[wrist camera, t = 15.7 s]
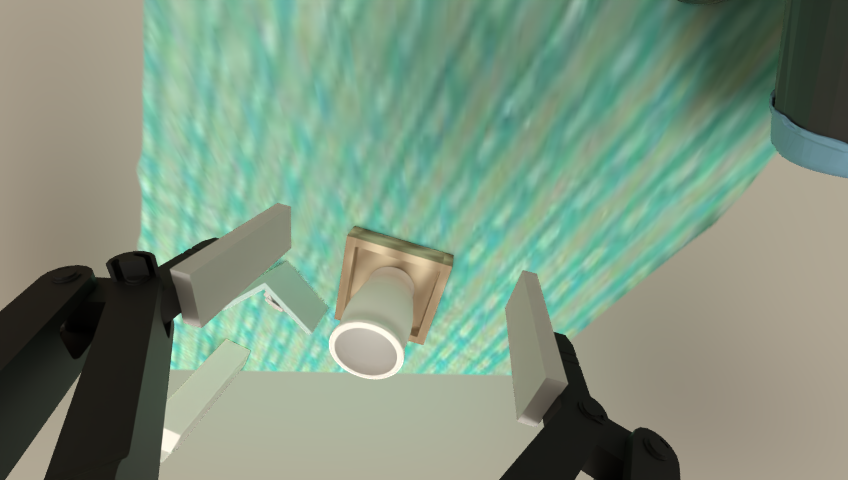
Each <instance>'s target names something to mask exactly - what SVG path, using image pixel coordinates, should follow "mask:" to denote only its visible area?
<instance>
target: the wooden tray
mask: <svg viewBox="0 0 848 480" xmlns="http://www.w3.org/2000/svg"><path fill="white" fill-rule="evenodd" d="M452 265H453V255H450V254H447V253H443V252H440V251H437V250H433V249H430V248H427V247H423V246H420V245H417V244H413V243H410V242H406V241H403V240H400V239H396V238H393V237H390V236H386V235H383V234H380V233H376V232H373V231H370V230H366V229H363V228H360V227H356V226H354V228H353V229H352V230H351V231H350V233H349V234H348V235H347V240H346V246H345V253H344V259H343V266H342V272H341V279H340V286H339V292H338V299H337V305H336V312H335V318H334V319H337V320H341V317H342V315H343V312H344V310H345V308H346V306H347V305H348V303H349V301H350V300H351V298H352V297H353V296H354V295H355V294H356V293H357V291H359V289H360V288H361V287H362V286H363V284H364V283H366V282H367V281H368V280H369V277H370V275H371V274H372V273H373V272H374V271H375V270H377V269H379V268H381V267H395V268H398V269H401V270H402V271H404V272H405V273H407V274H408V275H409V276H410V278H411V279H412V281H413V283H414V288H415V291H414V295H413V323H412V329H411V333H410V336H409V339H408V341H411V342H414V343H418V344H421V345H423V344H424V342H425V339H426V336H427V334H428V331H429V328H430V325H431V323H432V320H433V317H434V315H435V312H436V309H437V307H438V304H439V301H440V299H441V296H442V293H443V291H444V288H445V285H446V282H447V280H448V277H449V274H450V272H451V269H452Z"/></svg>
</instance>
